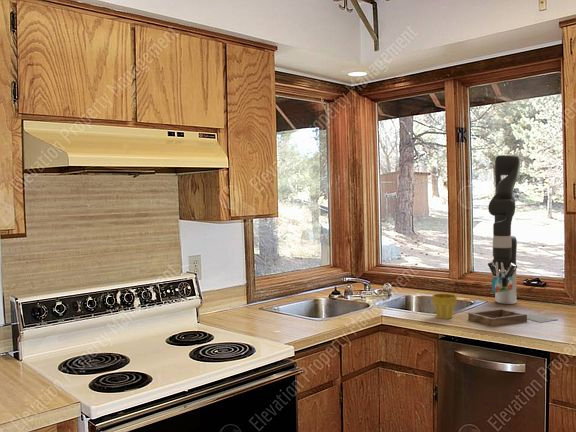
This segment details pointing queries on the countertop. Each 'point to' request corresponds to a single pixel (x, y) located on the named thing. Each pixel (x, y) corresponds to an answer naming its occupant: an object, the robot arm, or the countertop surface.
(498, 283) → the snack box
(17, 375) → the countertop surface
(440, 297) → the plant pot
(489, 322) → the tray
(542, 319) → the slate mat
